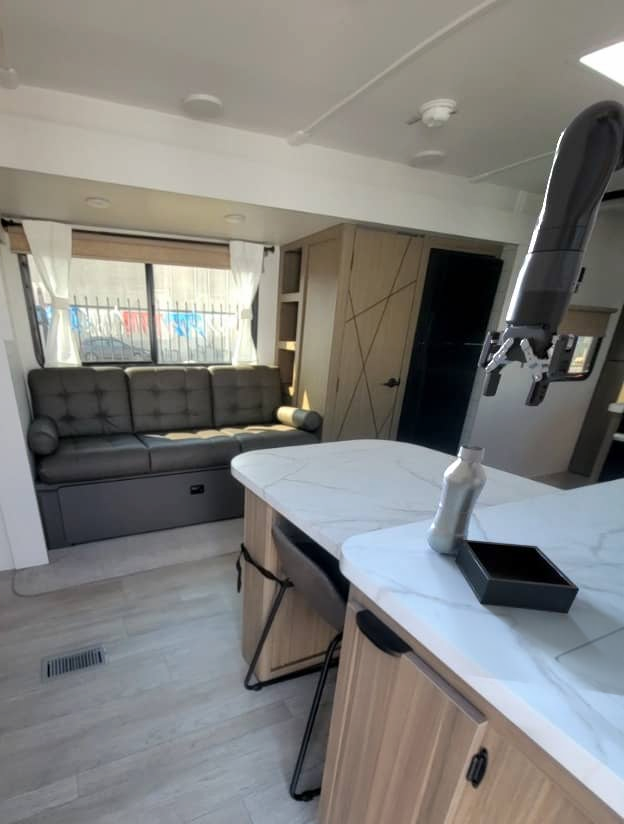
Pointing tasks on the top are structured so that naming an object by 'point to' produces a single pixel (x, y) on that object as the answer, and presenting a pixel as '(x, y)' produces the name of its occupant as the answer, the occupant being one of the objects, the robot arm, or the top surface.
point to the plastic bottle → (458, 500)
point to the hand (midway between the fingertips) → (508, 400)
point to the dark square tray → (514, 576)
